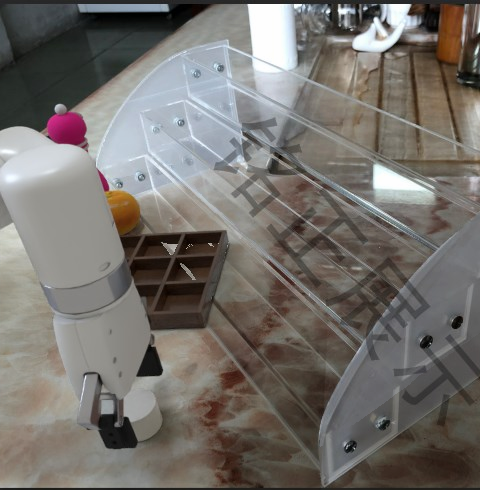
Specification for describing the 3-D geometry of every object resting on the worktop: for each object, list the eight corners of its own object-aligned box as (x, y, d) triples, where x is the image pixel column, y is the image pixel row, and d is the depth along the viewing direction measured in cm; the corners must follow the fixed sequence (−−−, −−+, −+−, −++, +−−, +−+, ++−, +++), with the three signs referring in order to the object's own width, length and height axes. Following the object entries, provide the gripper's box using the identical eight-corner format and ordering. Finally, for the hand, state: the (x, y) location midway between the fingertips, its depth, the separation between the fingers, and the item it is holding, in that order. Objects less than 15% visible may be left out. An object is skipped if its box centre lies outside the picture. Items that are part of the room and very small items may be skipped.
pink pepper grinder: (99, 224, 102) (62, 113, 91) (65, 219, 105) (25, 111, 94) (123, 203, 108) (91, 97, 97) (90, 199, 110) (55, 95, 99)
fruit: (149, 194, 103) (114, 170, 96) (150, 233, 98) (114, 210, 92) (113, 215, 105) (76, 193, 99) (112, 254, 100) (74, 233, 94)
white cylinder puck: (114, 442, 63) (105, 423, 62) (127, 408, 67) (119, 389, 65) (156, 441, 63) (149, 421, 61) (167, 407, 67) (160, 388, 65)
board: (58, 332, 79) (52, 318, 78) (108, 249, 96) (103, 235, 94) (204, 327, 78) (200, 312, 76) (229, 243, 94) (226, 229, 93)
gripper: (83, 231, 62) (127, 352, 71) (2, 348, 47) (72, 480, 57) (154, 227, 61) (189, 349, 70) (94, 344, 47) (148, 478, 56)
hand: (137, 408), depth 63 cm, fingers open, 9 cm apart
